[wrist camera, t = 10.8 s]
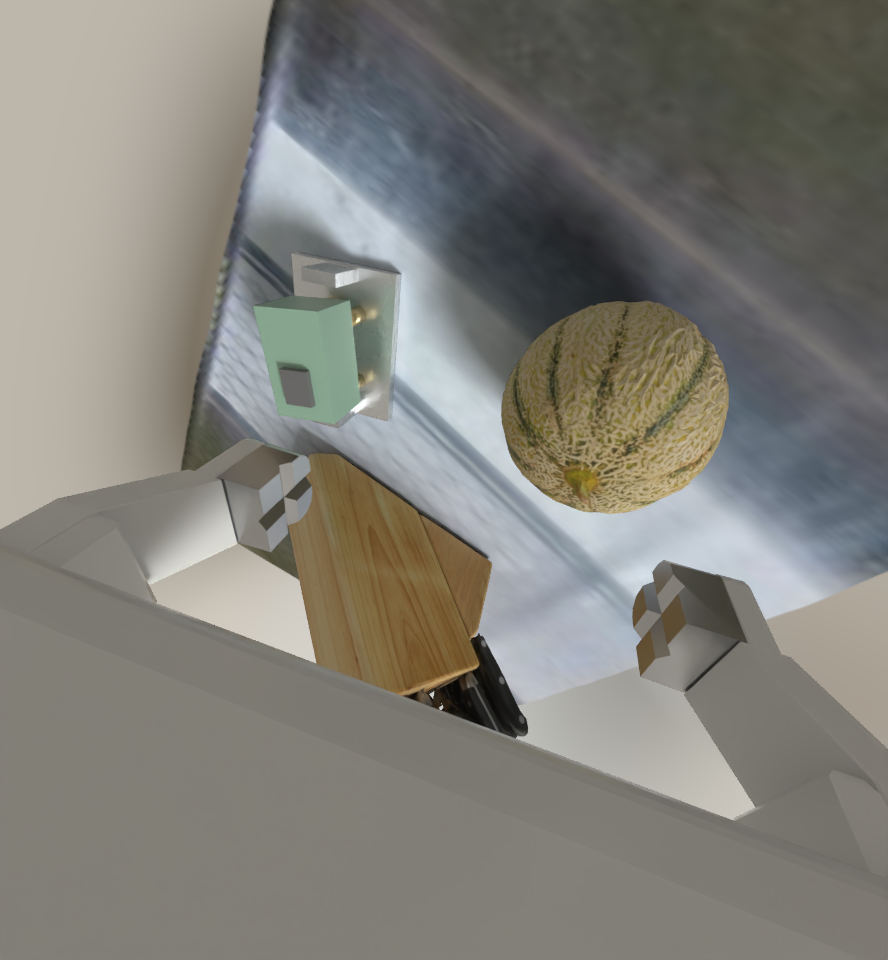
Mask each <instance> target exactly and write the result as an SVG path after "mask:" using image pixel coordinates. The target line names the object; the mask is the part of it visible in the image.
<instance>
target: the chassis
mask: <svg viewBox="0 0 888 960" xmlns="http://www.w3.org/2000/svg"><path fill="white" fill-rule="evenodd" d="M291 258H292V270H293V283H294V295H295V296H305V297H317V298H329V299H341V300H350V305H351V315H352V324H353V334H354V344H355V353H356V363H357V372H358V382H359V392H360V401H361V402H360V403H359V404H358V405H357V406H355V407H354V408H353V409H352V410H351V411H349V412H348V413H347V414H346V415H345V416H343V417H342V418H341V419H340V420H339V421H337V422H336V423H335V424H331V423H325V422H319V421H313V422H317V423H321V424H324V425H328V426H331V427H335V428H340V427H341V426H342V425H344V424H345V423H346V422H347V421H348V420H349V419H350V418H352V417H353V416H354V415H355V414H356V413H358V414H362V415H365V416H369V417H373V418H376V419H380V420H384V421H388V420H389V419H390V418H391V417H392V408H393V393H394V377H395V362H396V347H397V332H398V317H399V302H400V286H401V274H400V273H395V272H390V271H385V270H381V269H376V268H371V267H366V266H361V265H356V264H352V263H347V262H342V261H337V260H332V259H327V258H323V257H318V256H313V255H308V254H303V253H291Z"/></svg>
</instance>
